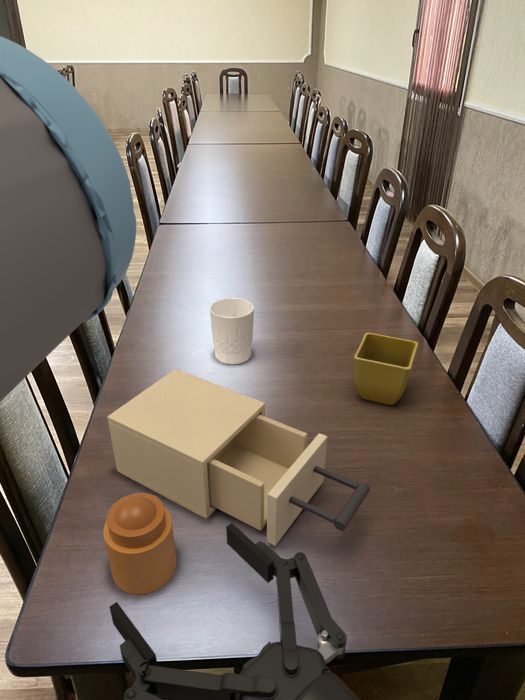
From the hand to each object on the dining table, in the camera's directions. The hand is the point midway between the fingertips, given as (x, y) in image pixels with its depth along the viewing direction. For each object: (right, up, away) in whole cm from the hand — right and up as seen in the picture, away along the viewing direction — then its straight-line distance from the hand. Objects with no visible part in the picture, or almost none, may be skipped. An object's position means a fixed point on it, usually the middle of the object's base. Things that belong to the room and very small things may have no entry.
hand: (176, 569), depth 53 cm
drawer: (+10, +3, +15) cm, 19 cm away
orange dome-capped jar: (-5, -3, +8) cm, 10 cm away
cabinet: (-1, +6, +22) cm, 23 cm away
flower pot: (+28, +14, +37) cm, 48 cm away
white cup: (+3, +21, +47) cm, 52 cm away
